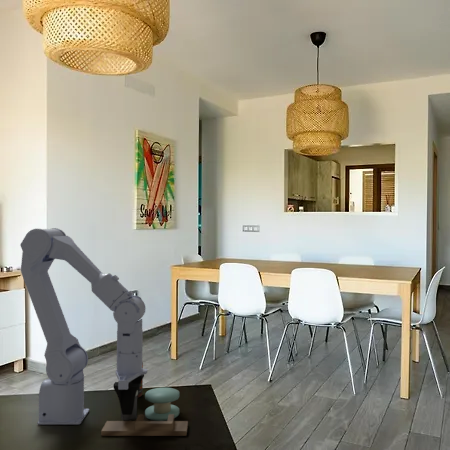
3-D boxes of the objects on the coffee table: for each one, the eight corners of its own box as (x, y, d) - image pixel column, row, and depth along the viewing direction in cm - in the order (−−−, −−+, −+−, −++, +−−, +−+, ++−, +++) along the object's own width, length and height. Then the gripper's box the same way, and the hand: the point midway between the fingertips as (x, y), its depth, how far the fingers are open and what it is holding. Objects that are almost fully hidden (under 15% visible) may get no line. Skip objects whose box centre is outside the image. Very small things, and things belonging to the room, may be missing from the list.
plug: (118, 421, 105) (119, 394, 105) (122, 414, 109) (122, 388, 109) (135, 421, 105) (136, 394, 105) (138, 414, 109) (139, 388, 109)
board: (101, 435, 99) (101, 423, 99) (106, 425, 104) (106, 414, 104) (186, 435, 100) (186, 424, 100) (187, 425, 105) (188, 414, 105)
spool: (142, 420, 107) (142, 399, 107) (147, 407, 115) (147, 387, 115) (177, 420, 107) (177, 399, 107) (180, 407, 115) (180, 387, 115)
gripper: (142, 360, 100) (141, 424, 100) (151, 342, 114) (151, 398, 114) (108, 359, 100) (108, 423, 100) (122, 342, 114) (122, 398, 114)
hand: (129, 410), depth 107 cm, fingers closed on plug, 4 cm apart
